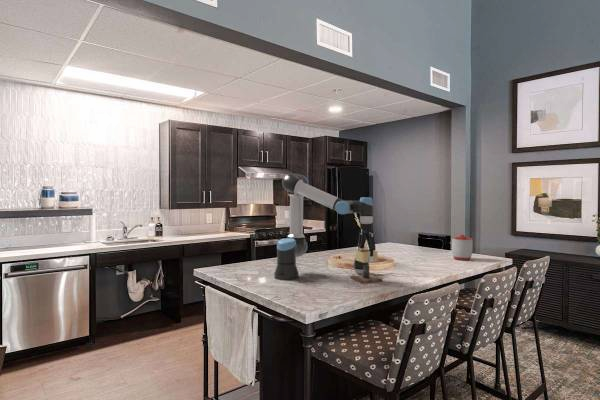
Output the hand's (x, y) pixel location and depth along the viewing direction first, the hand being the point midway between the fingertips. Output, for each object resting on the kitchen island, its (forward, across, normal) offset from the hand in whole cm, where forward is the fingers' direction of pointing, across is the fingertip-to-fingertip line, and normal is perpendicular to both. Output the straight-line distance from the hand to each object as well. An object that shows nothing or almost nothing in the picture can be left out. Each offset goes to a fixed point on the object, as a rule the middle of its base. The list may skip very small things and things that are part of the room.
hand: (366, 260), depth 219 cm
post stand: (+12, 0, 0) cm, 12 cm away
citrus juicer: (+12, +38, -107) cm, 114 cm away
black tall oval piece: (+12, +17, -6) cm, 22 cm away
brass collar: (0, 0, 0) cm, 0 cm away
